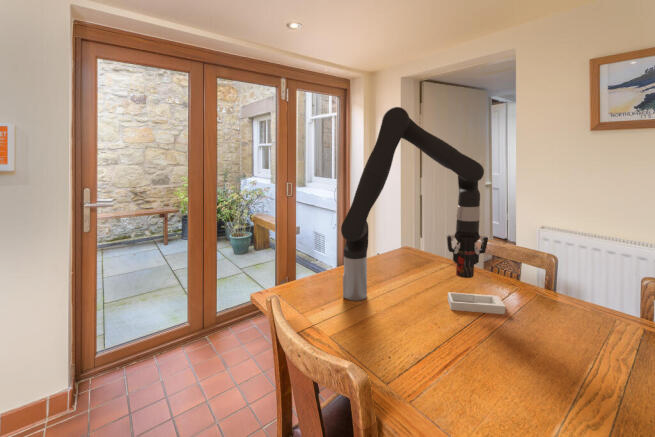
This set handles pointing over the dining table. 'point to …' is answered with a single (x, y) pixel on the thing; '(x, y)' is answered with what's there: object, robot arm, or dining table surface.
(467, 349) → the dining table surface
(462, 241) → the deodorant
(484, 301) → the white rectangular frame
